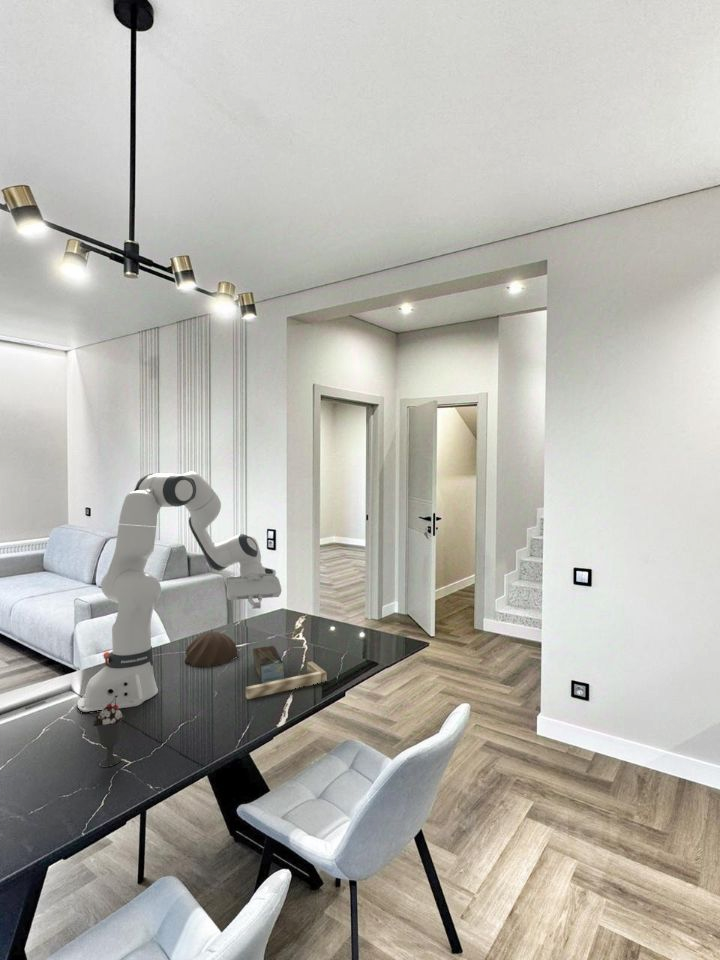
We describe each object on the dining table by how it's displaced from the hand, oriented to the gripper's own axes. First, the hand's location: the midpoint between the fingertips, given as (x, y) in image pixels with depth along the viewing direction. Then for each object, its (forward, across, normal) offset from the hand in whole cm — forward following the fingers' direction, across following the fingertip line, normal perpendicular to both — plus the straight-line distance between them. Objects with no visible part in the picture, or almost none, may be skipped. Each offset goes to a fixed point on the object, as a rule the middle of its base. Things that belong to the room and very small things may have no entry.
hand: (256, 607), depth 193 cm
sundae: (+52, -46, -28) cm, 75 cm away
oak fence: (+32, +3, -9) cm, 33 cm away
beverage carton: (+24, +1, +1) cm, 24 cm away
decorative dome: (+9, -14, +21) cm, 27 cm away
